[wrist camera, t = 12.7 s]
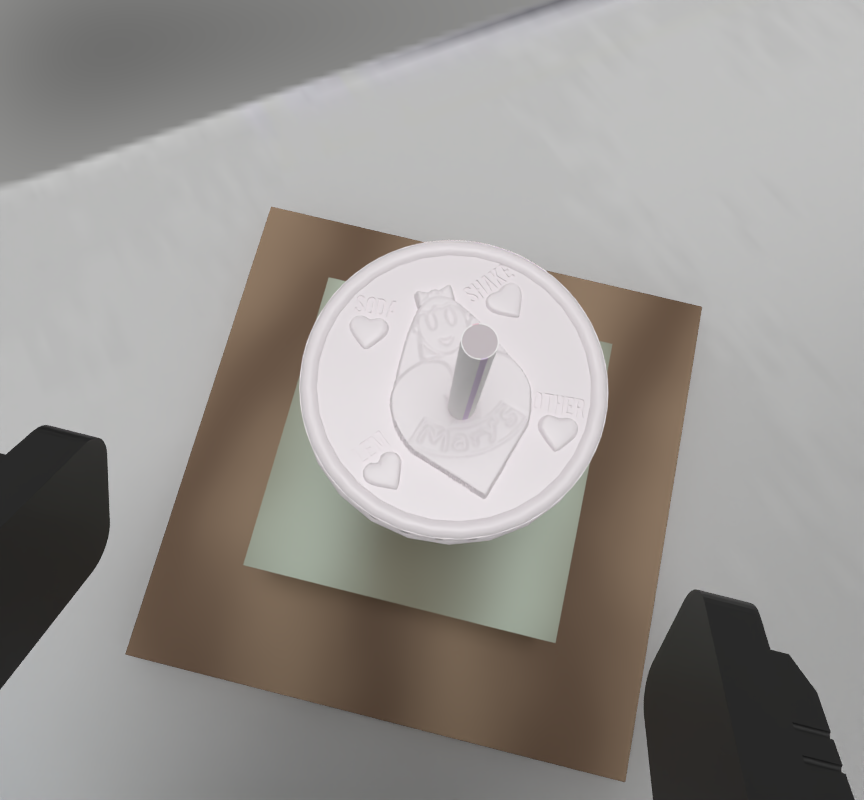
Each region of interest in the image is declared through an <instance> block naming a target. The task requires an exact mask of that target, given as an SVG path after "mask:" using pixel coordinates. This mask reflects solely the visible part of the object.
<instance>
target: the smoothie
mask: <svg viewBox="0 0 864 800" xmlns="http://www.w3.org/2000/svg"><path fill="white" fill-rule="evenodd" d="M299 391H300V405H301V412H302V418H303V422H304V426H305V430H306V433H307V436H308V438H309V441H310V444H311V446H312V449H313V452H314V455H315V458H316V461H317V463H318V464H319V466H320V467H321V469H322V470H323V471H324V473H325V474H326V476H327V477H328V479H329V480H330V482H331V483H332V484H333V486H334V487H335V489H336V490H337V492H338V493H339V495H340V496H342V497H343V498H344V499H345V500H346V501H348V502H349V503H350V504H351V505H352V506H354V507H355V508H356V509H357V510H358V511H360V512H361V513H362V514H363V515H364V516H366V517H367V518H368V519H369V520H370V521H372V522H374V523H376V524H379V525H381V526H383V527H385V528H387V529H389V530H392V531H394V532H396V533H398V534H400V535H403V536H405V537H407V538H411V539H417V540H423V541H429V542H435V543H441V544H447V545H452V544H462V543H471V542H481V541H490V540H492V539H495V538H498V537H500V536H503V535H505V534H508V533H510V532H513V531H516V530H518V529H521V528H523V527H526V526H528V525H529V524H531V523H532V522H533V521H535V520H536V519H537V518H539V517H540V516H541V515H543V514H544V513H545V512H547V511H548V510H549V509H551V508H552V507H553V506H555V505H556V504H557V503H559V502H560V501H561V499H562V498H563V497H564V495H565V494H566V493H567V492H568V491H569V490H570V489H571V488H572V487H573V486H574V485H575V483H576V482H577V481H578V480H579V478H580V477H581V476H582V474H583V473H584V471H585V469H586V468H587V466H588V465H589V463H590V461H591V459H592V457H593V455H594V453H595V451H596V449H597V446H598V444H599V441H600V438H601V436H602V432H603V428H604V424H605V420H606V414H607V408H608V377H607V370H606V363H605V359H604V355H603V351H602V348H601V345H600V342H599V339H598V336H597V334H596V332H595V330H594V328H593V326H592V324H591V322H590V320H589V318H588V317H587V315H586V313H585V312H584V310H583V309H582V307H581V306H580V304H579V303H578V302H577V300H576V299H575V298H574V297H573V296H572V294H571V293H570V292H569V291H568V290H567V289H566V288H565V287H564V286H563V285H562V284H561V283H560V282H559V281H558V280H557V279H556V278H555V277H553V276H552V275H551V274H549V273H548V272H547V271H546V270H544V269H543V268H541V267H540V266H538V265H537V264H535V263H533V262H532V261H530V260H528V259H526V258H524V257H522V256H520V255H518V254H516V253H514V252H511V251H509V250H506V249H503V248H500V247H497V246H493V245H489V244H485V243H480V242H473V241H464V240H441V241H430V242H424V243H419V244H415V245H411V246H407V247H404V248H401V249H398V250H395V251H393V252H390V253H388V254H386V255H384V256H382V257H380V258H378V259H376V260H374V261H373V262H371V263H369V264H368V265H366V266H365V267H363V268H362V269H360V270H359V271H358V272H356V273H355V274H354V275H353V276H351V277H350V278H349V279H348V280H347V281H346V282H345V283H344V284H343V285H342V286H341V287H340V288H339V289H338V290H337V291H336V292H335V293H334V294H333V296H332V297H331V298H330V300H329V301H328V302H327V303H326V305H325V306H324V308H323V310H322V311H321V313H320V314H319V316H318V318H317V320H316V322H315V324H314V326H313V328H312V330H311V332H310V335H309V338H308V340H307V343H306V346H305V350H304V354H303V358H302V364H301V370H300V384H299Z"/></svg>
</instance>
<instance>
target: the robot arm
mask: <svg viewBox="0 0 864 800" xmlns="http://www.w3.org/2000/svg"><path fill="white" fill-rule="evenodd" d="M109 528H110V517H109V492H108V466H107V449H106V445H105V443H104V441H103V440H102V439H100V438H97V437H93V436H89V435H85V434H81V433H77V432H73V431H69V430H65V429H61V428H57V427H53V426H49V425H44V426H40V427H38V428H37V429H35V430H34V431H33V432H31V433H30V434H29V435H28V436H27V437H26V438H25V439H23V440H22V441H21V442H20V443H19V444H18V445H16V446H15V447H14V448H13V449H12V450H11V451H10V452H8V453H7V454H6V455H5V454H1V453H0V689H1V688H2V687H3V685H4V684H5V683H6V681H7V680H8V679H9V678H10V676H11V675H12V674H13V672H14V671H15V670H16V669H17V667H18V666H19V665H20V664H21V662H22V661H23V660H24V658H25V657H26V656H27V655H28V653H29V652H30V651H31V650H32V648H33V647H34V646H35V644H36V643H37V642H38V641H39V639H40V638H41V637H42V635H43V634H44V633H45V632H46V630H47V629H48V628H49V627H50V625H51V624H52V623H53V621H54V620H55V619H56V618H57V616H58V615H59V614H60V612H61V611H62V610H63V609H64V607H65V606H66V605H67V604H68V602H69V601H70V600H71V598H72V597H73V596H74V595H75V593H76V592H77V591H78V589H79V588H80V587H81V586H82V584H83V583H84V582H85V581H86V579H87V578H88V577H89V575H90V574H91V573H92V572H93V570H94V569H95V567H96V566H97V564H98V562H99V560H100V558H101V556H102V554H103V552H104V549H105V546H106V543H107V539H108V535H109ZM644 719H645V728H646V737H647V747H648V756H649V765H650V775H651V784H652V793H653V800H854V797H853V794H852V791H851V789H850V786H849V783H848V780H847V777H846V774H844V773H842V772H841V767H842V763H841V760H840V757H839V754H838V751H837V749H836V746H835V743H834V740H832V739H830V732H831V731H830V729H829V726H828V723H827V720H826V717H825V714H824V711H823V709H822V706H821V703H820V700H819V697H818V694H817V692H816V690H815V689H814V688H813V686H812V685H811V684H810V682H809V681H808V680H807V678H806V677H805V676H804V674H803V673H802V672H801V670H800V669H799V668H798V666H797V665H796V663H795V662H794V661H793V659H792V658H791V657H790V655H789V654H785V653H781V652H777V651H773V650H770V647H769V644H768V640H767V637H766V634H765V631H764V627H763V624H762V621H761V617H760V614H759V612H758V610H757V608H756V607H755V606H754V605H753V604H751V603H748V602H744V601H740V600H736V599H732V598H728V597H724V596H720V595H716V594H712V593H708V592H704V591H700V590H693V591H691V592H690V593H689V594H688V595H687V597H686V598H685V600H684V602H683V604H682V606H681V608H680V610H679V612H678V614H677V616H676V618H675V620H674V622H673V624H672V625H671V627H670V629H669V631H668V633H667V635H666V637H665V639H664V641H663V643H662V645H661V647H660V649H659V651H658V653H657V655H656V657H655V659H654V661H653V663H652V665H651V668H650V670H649V674H648V677H647V682H646V687H645V694H644Z"/></svg>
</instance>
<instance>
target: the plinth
mask: <svg viewBox="0 0 864 800" xmlns="http://www.w3.org/2000/svg"><path fill="white" fill-rule="evenodd" d="M419 243H424V242H421V241H417V240H412V239H408V238H404V237H399V236H395V235H391V234H387V233H382V232H378V231H374V230H369V229H365V228H361V227H356V226H352V225H348V224H344V223H339V222H335V221H331V220H326V219H322V218H318V217H313V216H309V215H305V214H301V213H296V212H292V211H288V210H283V209H279V208H275V207H271V209H270V212H269V215H268V218H267V221H266V224H265V227H264V231H263V234H262V237H261V240H260V243H259V246H258V249H257V252H256V255H255V258H254V261H253V264H252V267H251V270H250V273H249V277H248V280H247V283H246V286H245V289H244V292H243V295H242V298H241V301H240V304H239V307H238V310H237V313H236V316H235V319H234V322H233V326H232V329H231V332H230V335H229V338H228V341H227V344H226V347H225V350H224V353H223V356H222V359H221V362H220V365H219V368H218V372H217V375H216V378H215V381H214V384H213V387H212V390H211V393H210V396H209V399H208V402H207V405H206V408H205V411H204V414H203V418H202V421H201V424H200V427H199V430H198V433H197V436H196V439H195V442H194V445H193V448H192V451H191V454H190V457H189V460H188V464H187V467H186V470H185V473H184V476H183V479H182V482H181V485H180V488H179V491H178V494H177V497H176V500H175V503H174V506H173V510H172V513H171V516H170V519H169V522H168V525H167V528H166V531H165V534H164V537H163V540H162V543H161V546H160V549H159V552H158V555H157V559H156V562H155V565H154V568H153V571H152V574H151V577H150V580H149V583H148V586H147V589H146V592H145V595H144V598H143V601H142V605H141V608H140V611H139V614H138V617H137V620H136V623H135V626H134V629H133V632H132V635H131V638H130V641H129V644H128V647H127V651H126V655H130V656H134V657H138V658H141V659H145V660H149V661H153V662H157V663H161V664H165V665H169V666H173V667H177V668H181V669H184V670H188V671H192V672H196V673H200V674H204V675H208V676H212V677H216V678H220V679H224V680H227V681H231V682H235V683H239V684H243V685H247V686H251V687H255V688H259V689H263V690H267V691H270V692H274V693H278V694H282V695H286V696H290V697H294V698H298V699H302V700H306V701H310V702H313V703H317V704H321V705H325V706H329V707H333V708H337V709H341V710H345V711H349V712H353V713H356V714H360V715H364V716H368V717H372V718H376V719H380V720H384V721H388V722H392V723H396V724H399V725H403V726H407V727H411V728H415V729H419V730H423V731H427V732H431V733H435V734H439V735H442V736H446V737H450V738H454V739H458V740H462V741H466V742H470V743H474V744H478V745H482V746H485V747H489V748H493V749H497V750H501V751H505V752H509V753H513V754H517V755H521V756H525V757H528V758H532V759H536V760H540V761H544V762H548V763H552V764H556V765H560V766H564V767H568V768H571V769H575V770H579V771H583V772H587V773H591V774H595V775H599V776H603V777H607V778H611V779H614V780H618V781H622V782H625V780H626V774H627V767H628V761H629V755H630V749H631V743H632V737H633V730H634V724H635V718H636V712H637V706H638V699H639V693H640V687H641V681H642V675H643V669H644V662H645V656H646V650H647V644H648V638H649V631H650V625H651V619H652V613H653V607H654V601H655V594H656V588H657V582H658V576H659V570H660V563H661V557H662V551H663V545H664V539H665V533H666V526H667V520H668V514H669V508H670V502H671V495H672V489H673V483H674V477H675V471H676V465H677V458H678V452H679V446H680V440H681V434H682V427H683V421H684V415H685V409H686V403H687V397H688V390H689V384H690V378H691V372H692V366H693V359H694V353H695V347H696V341H697V335H698V329H699V322H700V316H701V310H702V307H700V306H696V305H692V304H688V303H683V302H679V301H675V300H670V299H666V298H662V297H657V296H653V295H649V294H645V293H640V292H636V291H632V290H627V289H623V288H619V287H614V286H610V285H606V284H602V283H597V282H593V281H589V280H584V279H580V278H576V277H571V276H567V275H563V274H559V273H554V272H550V271H547V272H548V273H549V274H551V275H552V276H553V277H555V278H556V279H557V280H558V281H559V282H560V283H561V284H562V285H563V286H564V287H565V288H566V289H567V290H568V291H569V292H570V293H571V294H572V296H573V297H574V298H575V299H576V300H577V302H578V303H579V304H580V306H581V307H582V309H583V310H584V312H585V313H586V315H587V317H588V318H589V320H590V322H591V324H592V326H593V328H594V330H595V332H596V334H597V336H598V339H599V342H600V345H601V348H602V351H603V355H604V359H605V363H606V370H607V377H608V408H607V414H606V420H605V424H604V428H603V432H602V436H601V438H600V441H599V444H598V446H597V449H596V451H595V453H594V455H593V457H592V459H591V461H590V463H589V465H588V466H587V468H586V469H585V471H584V473H583V474H582V476H581V477H580V478H579V480H578V481H577V482H576V483H575V485H574V486H573V487H572V488H571V489H570V490H569V491H568V492H567V493H566V494H565V495H564V497H563V498H562V499H561V501H560V502H559V503H557V504H556V505H555V506H553V507H552V508H551V509H549V510H548V511H547V512H545V513H544V514H543V515H541V516H540V517H539V518H537V519H536V520H535V521H533V522H532V523H531V524H529V525H528V526H526V527H523V528H521V529H518V530H516V531H513V532H510V533H508V534H505V535H503V536H500V537H498V538H495V539H492V540H490V541H481V542H471V543H462V544H452V545H447V544H441V543H435V542H429V541H423V540H417V539H411V538H407V537H405V536H403V535H400V534H398V533H396V532H394V531H392V530H389V529H387V528H385V527H383V526H381V525H379V524H376V523H374V522H372V521H370V520H369V519H368V518H367V517H366V516H364V515H363V514H362V513H361V512H360V511H358V510H357V509H356V508H355V507H354V506H352V505H351V504H350V503H349V502H348V501H346V500H345V499H344V498H343V497H342V496H340V495H339V493H338V492H337V490H336V489H335V487H334V486H333V484H332V483H331V482H330V480H329V479H328V477H327V476H326V474H325V473H324V471H323V470H322V469H321V467H320V466H319V464H318V463H317V461H316V458H315V455H314V452H313V449H312V446H311V444H310V441H309V438H308V436H307V433H306V430H305V426H304V422H303V418H302V412H301V405H300V391H299V384H300V370H301V364H302V358H303V354H304V350H305V346H306V343H307V340H308V338H309V335H310V332H311V330H312V328H313V326H314V324H315V322H316V320H317V318H318V316H319V314H320V313H321V311H322V310H323V308H324V306H325V305H326V303H327V302H328V301H329V300H330V298H331V297H332V296H333V294H334V293H335V292H336V291H337V290H338V289H339V288H340V287H341V286H342V285H343V284H344V283H345V282H346V281H347V280H348V279H349V278H350V277H351V276H353V275H354V274H355V273H356V272H358V271H359V270H360V269H362V268H363V267H365V266H366V265H368V264H369V263H371V262H373V261H374V260H376V259H378V258H380V257H382V256H384V255H386V254H388V253H390V252H393V251H395V250H398V249H401V248H404V247H407V246H411V245H415V244H419Z"/></svg>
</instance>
